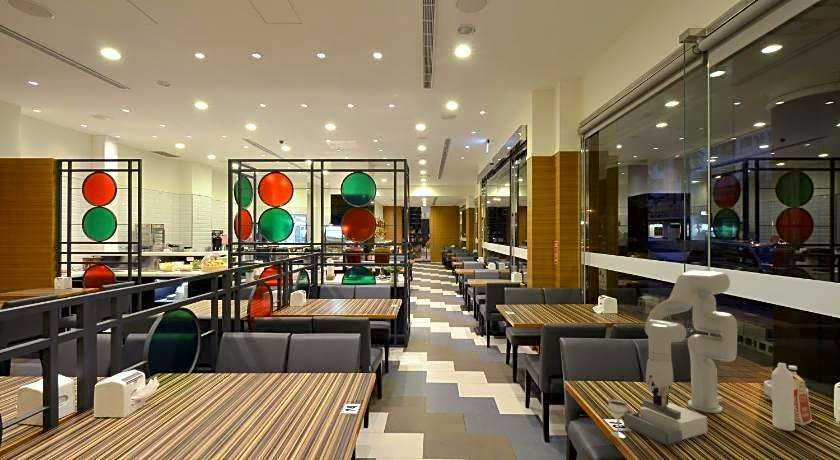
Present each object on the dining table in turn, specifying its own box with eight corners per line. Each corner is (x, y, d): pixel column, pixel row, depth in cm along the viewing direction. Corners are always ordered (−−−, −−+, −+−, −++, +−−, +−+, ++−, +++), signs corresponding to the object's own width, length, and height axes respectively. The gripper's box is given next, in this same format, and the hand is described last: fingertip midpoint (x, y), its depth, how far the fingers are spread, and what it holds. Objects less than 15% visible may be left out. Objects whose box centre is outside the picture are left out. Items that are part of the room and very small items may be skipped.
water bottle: (768, 424, 164) (766, 361, 165) (783, 423, 165) (781, 360, 166) (790, 434, 156) (788, 367, 157) (805, 433, 156) (803, 367, 157)
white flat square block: (667, 416, 171) (667, 401, 172) (707, 432, 157) (707, 416, 157) (640, 422, 165) (640, 407, 165) (679, 440, 150) (679, 423, 151)
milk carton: (803, 425, 163) (801, 374, 164) (774, 416, 172) (773, 368, 172) (813, 421, 168) (811, 371, 168) (785, 412, 176) (783, 365, 176)
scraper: (647, 404, 165) (646, 378, 166) (681, 418, 153) (680, 390, 153) (642, 405, 164) (641, 379, 165) (676, 420, 152) (675, 391, 152)
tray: (638, 421, 166) (638, 409, 166) (682, 441, 150) (681, 427, 150) (624, 425, 163) (623, 412, 163) (667, 445, 146) (667, 431, 147)
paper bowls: (806, 412, 176) (806, 393, 176) (761, 402, 188) (760, 384, 188) (811, 403, 186) (810, 385, 186) (767, 394, 198) (767, 377, 198)
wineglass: (619, 440, 150) (619, 406, 151) (604, 432, 157) (604, 400, 157) (632, 436, 153) (632, 404, 154) (617, 429, 159) (617, 397, 160)
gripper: (665, 351, 166) (665, 397, 165) (636, 356, 159) (637, 404, 159) (683, 356, 159) (684, 404, 158) (654, 361, 153) (655, 411, 152)
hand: (660, 403), depth 159 cm, fingers closed on scraper, 2 cm apart
